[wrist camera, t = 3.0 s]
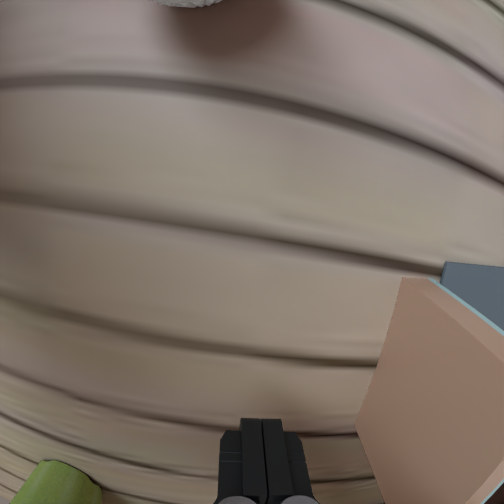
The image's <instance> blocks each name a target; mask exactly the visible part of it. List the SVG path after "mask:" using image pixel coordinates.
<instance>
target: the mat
mask: <svg viewBox="0 0 504 504" xmlns="http://www.w3.org/2000/svg"><path fill="white" fill-rule="evenodd" d="M440 284H441V285H442V286H444V287H445V288H447V289H448V290H450V291H451V292H452V293H454V294H455V295H456V296H458V297H459V298H461V299H462V300H463V301H465V302H466V303H467V304H469V305H470V306H472V307H473V308H474V309H476V310H477V311H478V312H480V313H481V314H482V315H484V316H485V317H486V318H488V319H489V320H490V321H492V322H493V323H494V324H495V325H497V326H498V327H499V328H501V329H502V330H503V331H504V267H495V266H485V265H475V264H465V263H455V262H445V265H444V269H443V273H442V277H441V281H440Z"/></svg>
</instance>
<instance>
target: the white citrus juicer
mask: <svg viewBox="0 0 504 504" xmlns="http://www.w3.org/2000/svg"><path fill="white" fill-rule="evenodd" d="M149 1H157V2H158V4H163V5H168V6H176V7H192V8H195V7H197V6H199V7H203V6H205V5H208V6H210V5H211V4H212V3H218V2H220V1H222V0H149Z"/></svg>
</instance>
